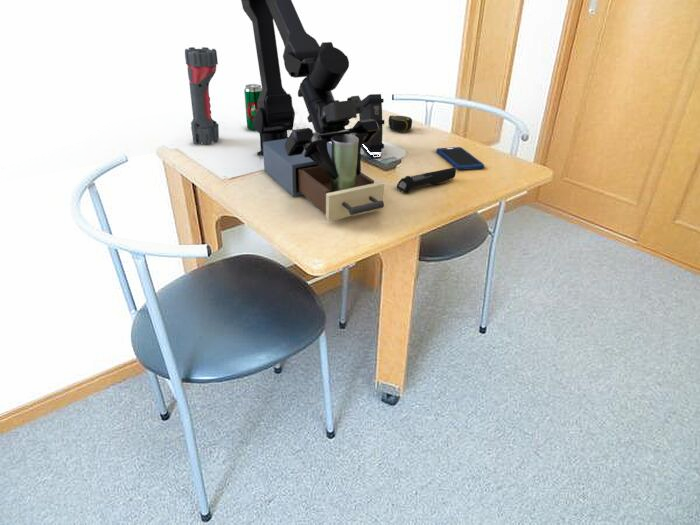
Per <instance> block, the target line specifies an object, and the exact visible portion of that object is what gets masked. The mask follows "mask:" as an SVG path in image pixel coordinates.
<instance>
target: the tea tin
mask: <svg viewBox="0 0 700 525" xmlns="http://www.w3.org/2000/svg"><path fill="white" fill-rule="evenodd" d="M330 143H331V144H332V151H331V160H332V163H333V165H334V168H335V171H336V174H337V178H336V180H333V179H332V178H331V192H335V191H340V190H345V189H349V188H354V187H356V176H357V155H358V143H359V139H358V137H356V136H353V135H348V134H339V135H335V136H332V138H331V142H330Z"/></svg>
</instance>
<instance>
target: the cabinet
mask: <svg viewBox="0 0 700 525" xmlns="http://www.w3.org/2000/svg"><path fill="white" fill-rule="evenodd" d="M287 139H288V138H287ZM287 139H280V140H274V141H267V142H263V155H264V156H263V169H264V170H263V171H264V173H265V174H266V175H268V176H269V178H271V179H272V180H273V181H274V182H276V183H277V184H278V185H279V187H281V188H282V189H283V190H285V191H286V192H287V193H288V194H289V195H290V196H292V197H293V198H294V197H299V196H304V195H303V194H302V193H301V192H300V191H299V186H298V169H303V168H308V167H314V166H319V165H318V164H317V163H315V162H314V161H313V160H312V159H310V158H309V157H305V156H304V153H305V152H306V150H305V148H304V151H303V152H302V154H300V155H294V156H288V155H287V152H286V149H285V142H286V141H287ZM327 150H328V153H329V155H330V158H331V151H332V142H327Z"/></svg>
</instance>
